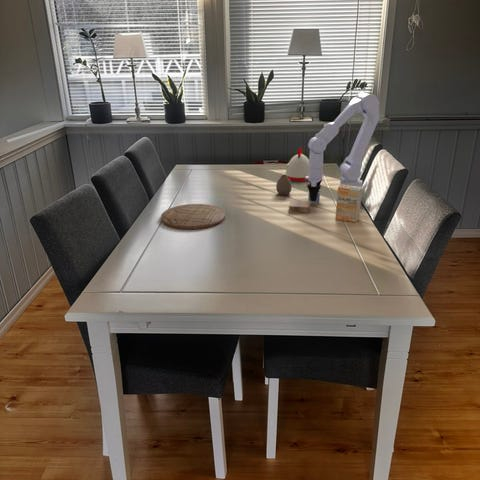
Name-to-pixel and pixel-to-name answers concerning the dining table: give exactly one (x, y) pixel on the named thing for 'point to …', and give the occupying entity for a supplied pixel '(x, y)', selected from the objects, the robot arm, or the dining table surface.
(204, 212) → the trivet
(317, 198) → the cube
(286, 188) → the vase
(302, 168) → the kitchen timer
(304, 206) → the base
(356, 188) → the supplement box
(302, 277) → the dining table surface
